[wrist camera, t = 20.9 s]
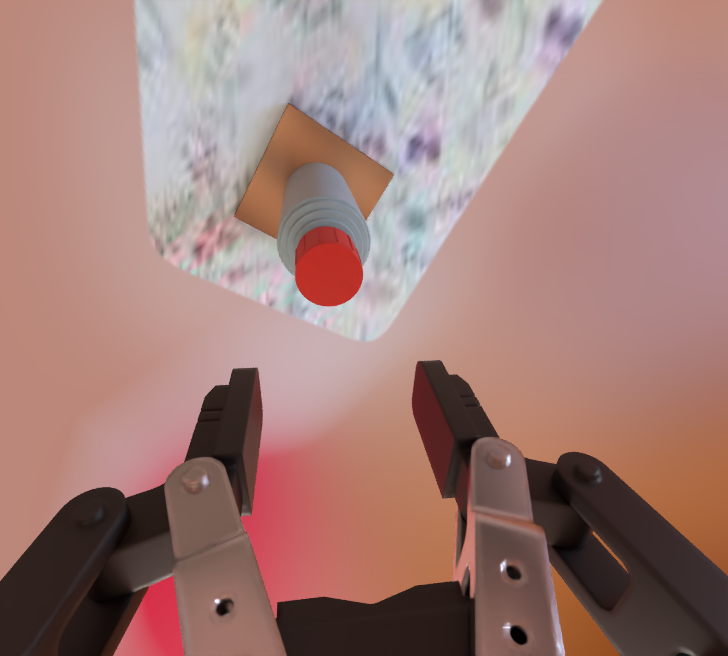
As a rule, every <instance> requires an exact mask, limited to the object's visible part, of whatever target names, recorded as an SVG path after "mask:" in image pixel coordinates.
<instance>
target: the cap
mask: <svg viewBox="0 0 728 656" xmlns="http://www.w3.org/2000/svg"><path fill="white" fill-rule="evenodd" d="M295 280H296V284H297V287H298V289H299V291H300V292H301V293H302V295H303V296H304V297H305V298H306V299H308V300H309V301H311V302H312V303H315V304H317V305H321V306H337V305H340V304H343V303H345V302H347V301H348V300H350V299H351V298H352V297H353V296H354V295H355V294H356V293H357V292H358V290H359V288H360V286H361V284H362V280H363V269H362V262H361V259H360V257H359V254H358V251H357V248H355V245H354V243H353V241H352V240H351V238H350V236H349V235H347V234H346V233H345V232H343V231H342V230H340V229H338V228H336V227H329V226H323V227H317V228H315V229H312V230H310V231H309V232H307V233H306V234H305V235H303V237H302V238H301V240H300V241H299V243H298V246H297V249H295Z"/></svg>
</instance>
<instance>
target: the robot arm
mask: <svg viewBox="0 0 728 656" xmlns="http://www.w3.org/2000/svg"><path fill="white" fill-rule="evenodd" d="M412 408H413V415H414V418H415V421H416V424H417V427H418V429H419V432H420V435H421V438H422V441H423V444H424V447H425V450H426V452H427V455H428V458H429V461H430V464H431V467H432V470H433V472H434V475H435V478H436V481H437V484H438V487H439V489H440V492H441V495H442V498H454V497H455V500H456V502H457V505H458V507H457V511H456V521H455V541H454V564H453V580H452V581H451V582H443V583H434V584H427V585H418V586H414V587H413V588H410V589H408V590H405V591H403V592H401V593H398V594H396V595H394V596H391V597H389V598H387V599H385V600H383V601H380V602H378V603H375V604H365V603H360V602H353V601H347V600H341V599H334V598H329V597H318V598H310V599H301V600H293V601H285V602H278V603H277V618H275V617H274V613H273V610H272V607H271V604H270V601H269V598H268V594H267V591H266V588H265V585H264V582H263V579H262V576H261V573H260V569H259V566H258V563H257V560H256V557H255V554H254V551H253V547H252V544H251V541H250V538H249V536H248V533H247V532H245V530H244V527H243V524H242V520H241V516H248V515H252V507H253V499H254V490H255V481H256V473H257V464H258V456H259V448H260V439H261V431H262V417H263V413H262V412H263V411H262V399H261V390H260V381H259V372H258V368H238V369H233V370H232V374H231V378H230V382H229V385H219V386H215V387H214V388H213V389H212V390H211V391H210V392H209V393H208V394H207V395H206V396H205V398H204V402H203V405H202V408H201V412H200V414H199V417H198V422H197V424H196V427H195V430H194V433H193V436H192V439H191V442H190V446H189V449H188V452H187V455H186V458H185V461H184V463H182V464H181V465H179V466H177V467H176V468H175V469H174V470H173V471H172V472H171V473H170V474H169V476H168V478H167V479H166V482H165V483H164V484H162V485H161V486H159V487H156V488H154V489H151V490H148V491H145V492H142V493H139V494H136V495H133V496H130V497H127V498H125V497H124V494H123V493H122V492H121V491H119V490H117V489H115V488H110V487H103V488H96V489H92V490H89V491H87V492H84V493H82V494H80V495H78V496H77V497H75V498H73V499H72V500H70V501H69V502H68V503H67V504H66V505H64V506H63V508H62V509H61V510H60V511H59V512H58V513H57V514H56V515H55V517H54V518H53V519H52V520H51V521H50V523H49V524H48V525H47V526H46V527H45V528H44V530H43V531H42V532H41V533H40V534H39V536H38V537H37V538H36V539H35V540H34V542H33V543H32V544H31V545H30V546H29V548H28V549H27V550H26V551H25V552H24V554H23V555H22V556H21V557H20V558H19V559H18V561H17V562H16V563H15V564H14V566H13V567H12V568H11V569H10V570H9V572H8V573H7V574H6V575H5V576H4V577H3V579H2V580H1V581H0V656H113V655H114V653H115V651H116V649H117V647H118V645H119V643H120V641H121V639H122V637H123V635H124V634H125V631H126V630H127V628H128V626H129V624H130V622H131V620H132V618H133V616H134V614H135V613H136V611H137V609H138V607H139V605H140V603H141V601H142V599H143V597H144V595H145V593H146V592H147V590H148V588H149V586H150V585H152V584H155V583H157V582H159V581H162V580H164V579H166V578H169V577H171V576H174V584H175V591H176V598H177V605H178V613H179V620H180V627H181V635H182V642H183V649H184V656H565V653H564V647H563V641H562V634H561V628H560V622H559V617H558V610H557V604H556V598H555V593H554V586H553V579H552V573H551V567H550V563H551V564H552V566H553V567H554V568H555V570H556V571H557V572H558V574H559V575H560V576H561V577H562V579H563V580H564V581H565V583H566V584H567V585H568V587H569V588H570V589H571V591H572V592H573V593H574V595H575V596H576V597H577V598H578V600H579V601H580V602H581V604H582V605H583V606H584V608H585V609H586V610H587V612H588V613H589V614H590V616H591V617H592V618H593V620H594V621H595V622H596V623H597V625H598V626H599V627H600V629H601V630H602V631H603V633H604V634H605V635H606V637H607V638H608V639H609V641H610V642H611V643H612V645H613V646H614V647H615V649H616V650H617V651H618V653H619V654H620V655H621V656H728V576H727V575H726V574H725V573H724V572H723V571H722V570H721V569H720V568H718V567H717V566H716V565H715V564H714V563H713V562H712V561H711V560H710V559H708V558H707V557H706V556H705V555H704V554H703V553H702V552H701V551H700V550H699V549H697V548H696V547H695V546H694V545H693V544H692V543H691V542H690V541H689V540H688V539H686V538H685V537H684V536H683V535H682V534H681V533H680V532H679V531H678V530H676V529H675V528H674V527H673V526H672V525H671V524H670V523H669V522H668V521H667V520H665V519H664V518H663V517H662V516H661V515H660V514H659V513H658V512H657V511H656V510H654V509H653V508H652V507H651V506H650V505H649V504H648V503H647V502H646V501H645V500H643V499H642V498H641V497H640V496H639V495H638V494H637V493H636V492H635V491H634V490H632V489H631V488H630V487H629V486H628V485H627V484H626V483H625V482H624V481H622V480H621V479H620V478H619V477H618V476H617V475H616V474H615V473H614V472H613V471H611V470H610V469H609V468H608V467H607V466H606V465H605V464H603V463H602V462H601V461H599V460H598V459H596V458H594V457H592V456H590V455H587V454H583V453H579V452H568V453H565V454H563V455H561V456H560V457H559V459H558V462H557V464H552V463H547V462H542V461H537V460H532V459H528V458H525V457H524V456H523V454H522V453H521V451H519V449H518V448H517V447H516V446H514V445H513V444H512V443H510V442H508V441H506V440H503V439H500V438H499V436H498V435H497V433H496V431H495V429H494V427H493V426H492V424H491V422H490V420H489V419H488V417H487V415H486V413H485V412H484V410H483V408H482V407H481V406H480V403H479V401H478V400H477V398H476V397H475V395H474V393H473V391H472V389H471V387H470V386H469V384H468V383H467V382H466V381H464V380H463V379H462V378H461V377H459V376H458V375H449V374H448V372H447V371H446V369H445V367H444V365H443V363H442V361H440V360H436V361H418V362H417V365H416V371H415V380H414V387H413V395H412ZM593 531H594V532H595V533H596V534H597V535H598V536H599V537H600V538H601V539H602V540H603V541H604V543H606V545H607V546H608V547H609V548H610V549H611V550H612V551H613V552H614V553H615V555H616V556H617V557H618V558H619V559H620V560H621V561H622V562H623V564H624V565H625V567H626V569H627V571H628V573H629V574H628V573H627V571H626V570H625V569H624V568H623V567H622V566H621V565H620V564H619V563H618V561H617V560H616V559H615V558H614V557H613V556H612V555H611V554H610V553H609V552H608V550H607V549H606V548H605V547H604V546H603V545H602V544H601V543H600V542H599V541H598V539H597V538H596V537H595V536H594V535H593V534H592V533H593Z"/></svg>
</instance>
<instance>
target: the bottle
mask: <svg viewBox="0 0 728 656" xmlns="http://www.w3.org/2000/svg"><path fill="white" fill-rule="evenodd" d="M323 226H329V227H336V228H338V229H340V230H342V231H343V232H345V233H346V234H347V235H349V236H350V238H351V240H352V241H353V243H354V245H355V248H357V251H358V254H359V257H360V259H361V262H362V266H363V265H364V263H365V261H366V259H367V257H368V254H369V250H370V232H369V229H368V226H367V223H366V221H365V219H364V217H363V215H362V213H361V211H360V209H359V207H358V205H357V203H356V201H355V199H354V197H353V195H352V193H351V191H350V189H349V187H348V185H347V183H346V181H345V180H344V178H343V176H342V175H341V174H340V173H339V172H338V171H337V170H336V169H334V168H333V167H331V166H329V165H327V164H324V163H317V162H316V163H308V164H305V165H303V166H301V167H299V168H298V169H296V170H295V171H294V172H293V173H292V174H291V176H290V177H289V179H288V181H287V184H286V187H285V193H284V199H283V205H282V210H281V216H280V222H279V228H278V234H277V247H278V252H279V256H280V258H281V260H282V262H283V264H284V265H285V267H286V268H287V269H288V271H289V272H290V273H291V274H292V275H294V276H295V249H297V246H298V243H299V241H300V240H301V238H302V237H303V235H305V234H306V233H307V232H309V231H310V230H312V229H315V228H317V227H323Z"/></svg>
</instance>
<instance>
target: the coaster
mask: <svg viewBox="0 0 728 656" xmlns="http://www.w3.org/2000/svg"><path fill="white" fill-rule="evenodd" d="M316 162H317V163H324V164H327V165H329V166H331V167H333V168H334V169H336V170H337V171H338V172H339V173H340V174H341V175H342V176H343V178H344V180H345V181H346V183H347V185H348V187H349V189H350V191H351V193H352V195H353V197H354V199H355V201H356V203H357V205H358V207H359V209H360V211H361V213H362V215H363V217H364V219H365V221H366V219H367V218H368V216H369V215H370V213H371V211H372V210H373V208H374V207H375V205H376V203H377V202H378V200H379V198H380V197H381V195H382V194H383V192H384V190H385V189H386V187H387V186H388V184H389V182H390V181H391V179H392V177H393V176H394V174H393V173H391V172H390V171H388V170H387V169H385V168H384V167H382V166H381V165H380V164H378V163H377V162H375V161H374V160H372V159H371V158H369V157H368V156H366V155H365V154H363V153H362V152H360V151H359V150H357V149H356V148H354V147H353V146H351V145H350V144H348V143H347V142H345V141H344V140H342V139H341V138H339V137H338V136H337V135H335V134H334V133H332V132H331V131H329V130H328V129H326V128H325V127H323V126H322V125H320V124H319V123H317V122H316V121H314V120H313V119H311V118H310V117H308V116H307V115H305V114H304V113H302V112H301V111H299V110H298V109H297V108H295V107H294V106H292V105H291V104H289V103H288V105H287V107H286V109H285V111H284V113H283V115H282V117H281V120H280V122H279V124H278V126H277V128H276V130H275V132H274V134H273V136H272V138H271V140H270V143H269V145H268V147H267V149H266V151H265V153H264V155H263V157H262V159H261V161H260V163H259V165H258V168H257V170H256V172H255V174H254V176H253V178H252V180H251V182H250V184H249V186H248V188H247V191H246V193H245V195H244V197H243V199H242V201H241V203H240V205H239V207H238V209H237V211H236V213H235V216H234V217H236V218H238V219H240V220H242V221H244V222H245V223H247V224H249V225H251V226H253V227H255V228H257V229H259V230H260V231H262V232H264V233H266V234H268V235H270V236H272V237H274V238H275V239H277V234H278V228H279V222H280V216H281V210H282V205H283V199H284V193H285V187H286V184H287V181H288V179H289V177H290V176H291V174H292V173H293V172H294V171H295V170H296V169H298V168H299V167H301V166H303V165H305V164H308V163H316Z"/></svg>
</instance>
